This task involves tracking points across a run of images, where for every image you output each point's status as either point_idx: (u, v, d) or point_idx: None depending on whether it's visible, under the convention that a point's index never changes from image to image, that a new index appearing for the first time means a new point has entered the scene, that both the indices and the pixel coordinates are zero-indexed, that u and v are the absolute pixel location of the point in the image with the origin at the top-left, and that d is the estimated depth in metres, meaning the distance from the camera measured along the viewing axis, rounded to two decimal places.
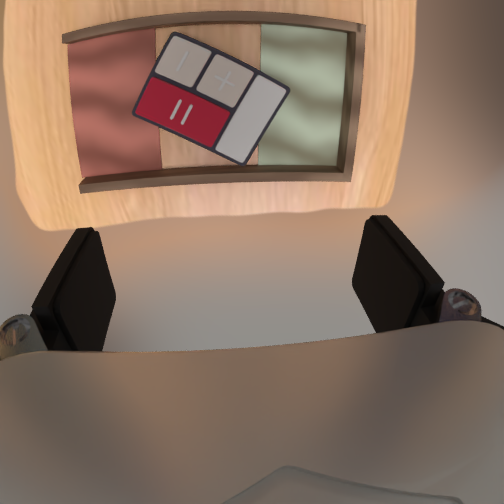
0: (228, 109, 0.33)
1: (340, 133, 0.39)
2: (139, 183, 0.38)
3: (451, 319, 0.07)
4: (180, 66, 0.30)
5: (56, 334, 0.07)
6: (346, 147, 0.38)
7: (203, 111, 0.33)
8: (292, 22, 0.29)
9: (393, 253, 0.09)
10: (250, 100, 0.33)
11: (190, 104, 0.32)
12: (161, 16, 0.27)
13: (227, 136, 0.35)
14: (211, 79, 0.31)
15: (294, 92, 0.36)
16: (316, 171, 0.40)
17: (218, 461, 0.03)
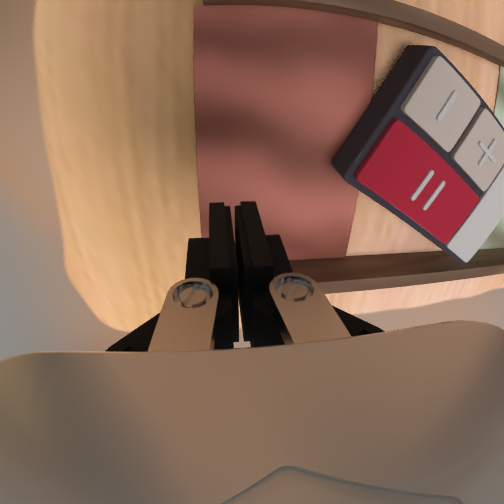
0: (475, 191, 0.20)
1: None
2: (325, 288, 0.24)
3: (296, 314, 0.07)
4: (442, 113, 0.16)
5: (229, 296, 0.08)
6: None
7: (453, 193, 0.19)
8: None
9: (239, 237, 0.09)
10: (500, 183, 0.19)
11: (443, 181, 0.18)
12: (417, 10, 0.13)
13: (465, 230, 0.21)
14: (473, 146, 0.17)
15: None
16: None
17: (218, 461, 0.03)
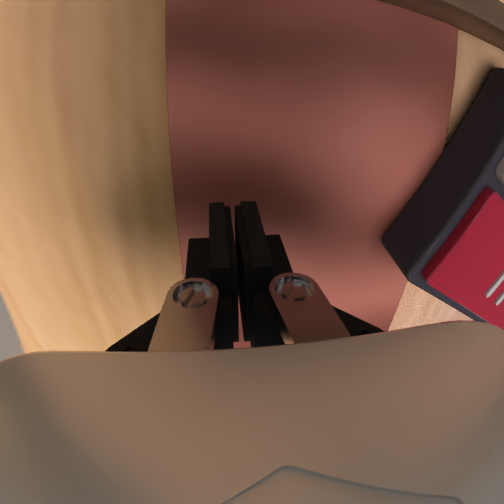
0: None
1: None
2: None
3: (296, 314, 0.07)
4: None
5: (229, 296, 0.08)
6: None
7: None
8: None
9: (239, 237, 0.09)
10: None
11: None
12: None
13: None
14: None
15: None
16: None
17: (218, 461, 0.03)
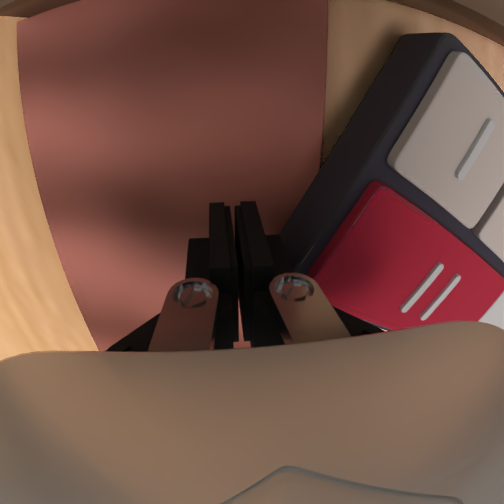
0: (503, 272, 0.12)
1: None
2: None
3: (296, 314, 0.07)
4: (467, 163, 0.08)
5: (229, 296, 0.08)
6: None
7: (471, 288, 0.12)
8: None
9: (239, 237, 0.09)
10: None
11: (457, 276, 0.11)
12: None
13: None
14: None
15: None
16: None
17: (218, 461, 0.03)
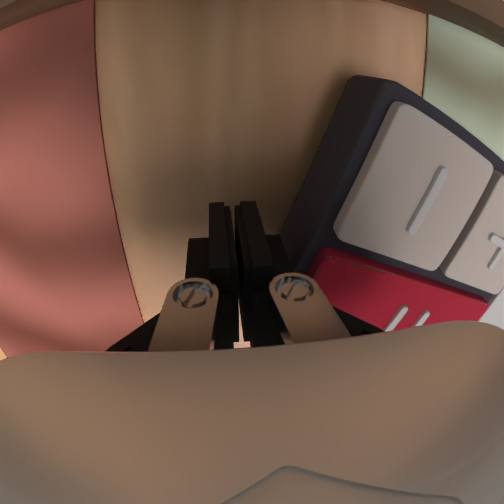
0: (483, 294, 0.13)
1: None
2: None
3: (296, 314, 0.07)
4: (419, 216, 0.09)
5: (229, 296, 0.08)
6: None
7: (445, 317, 0.12)
8: None
9: (239, 237, 0.09)
10: None
11: (425, 313, 0.12)
12: None
13: None
14: (480, 246, 0.10)
15: None
16: None
17: (218, 461, 0.03)
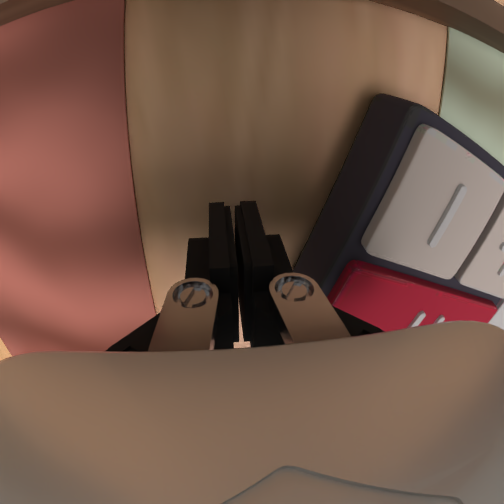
0: (493, 298, 0.13)
1: None
2: None
3: (296, 314, 0.07)
4: (439, 230, 0.10)
5: (229, 296, 0.08)
6: None
7: None
8: None
9: (239, 237, 0.09)
10: None
11: (441, 318, 0.12)
12: None
13: None
14: (492, 255, 0.11)
15: None
16: None
17: (218, 461, 0.03)
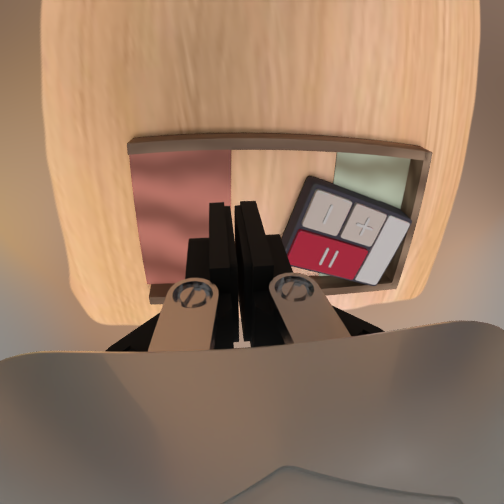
0: (365, 247, 0.40)
1: None
2: None
3: (296, 314, 0.07)
4: (326, 218, 0.37)
5: (229, 296, 0.08)
6: (397, 262, 0.43)
7: (347, 254, 0.39)
8: (371, 153, 0.34)
9: (239, 237, 0.09)
10: (383, 237, 0.39)
11: (336, 251, 0.39)
12: (245, 140, 0.31)
13: (365, 268, 0.41)
14: (353, 227, 0.37)
15: None
16: None
17: (218, 461, 0.03)
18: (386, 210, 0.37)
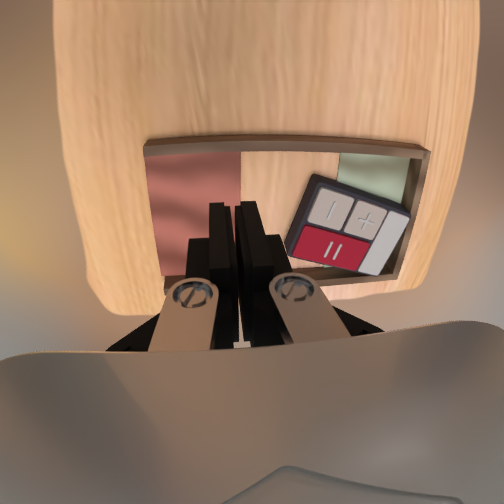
0: (367, 240, 0.42)
1: None
2: None
3: (296, 314, 0.07)
4: (330, 214, 0.39)
5: (229, 296, 0.08)
6: (397, 254, 0.45)
7: (349, 247, 0.42)
8: (372, 153, 0.36)
9: (239, 237, 0.09)
10: (384, 231, 0.41)
11: (340, 244, 0.41)
12: (254, 142, 0.34)
13: (367, 260, 0.43)
14: (355, 222, 0.40)
15: None
16: None
17: (218, 461, 0.03)
18: (386, 206, 0.39)
